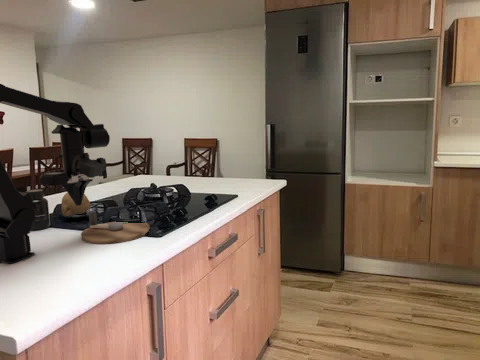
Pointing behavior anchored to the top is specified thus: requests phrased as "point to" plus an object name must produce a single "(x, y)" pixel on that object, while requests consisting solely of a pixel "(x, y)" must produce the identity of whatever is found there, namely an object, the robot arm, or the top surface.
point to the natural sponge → (74, 205)
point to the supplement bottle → (40, 210)
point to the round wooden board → (115, 233)
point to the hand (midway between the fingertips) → (78, 205)
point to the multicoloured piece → (111, 225)
